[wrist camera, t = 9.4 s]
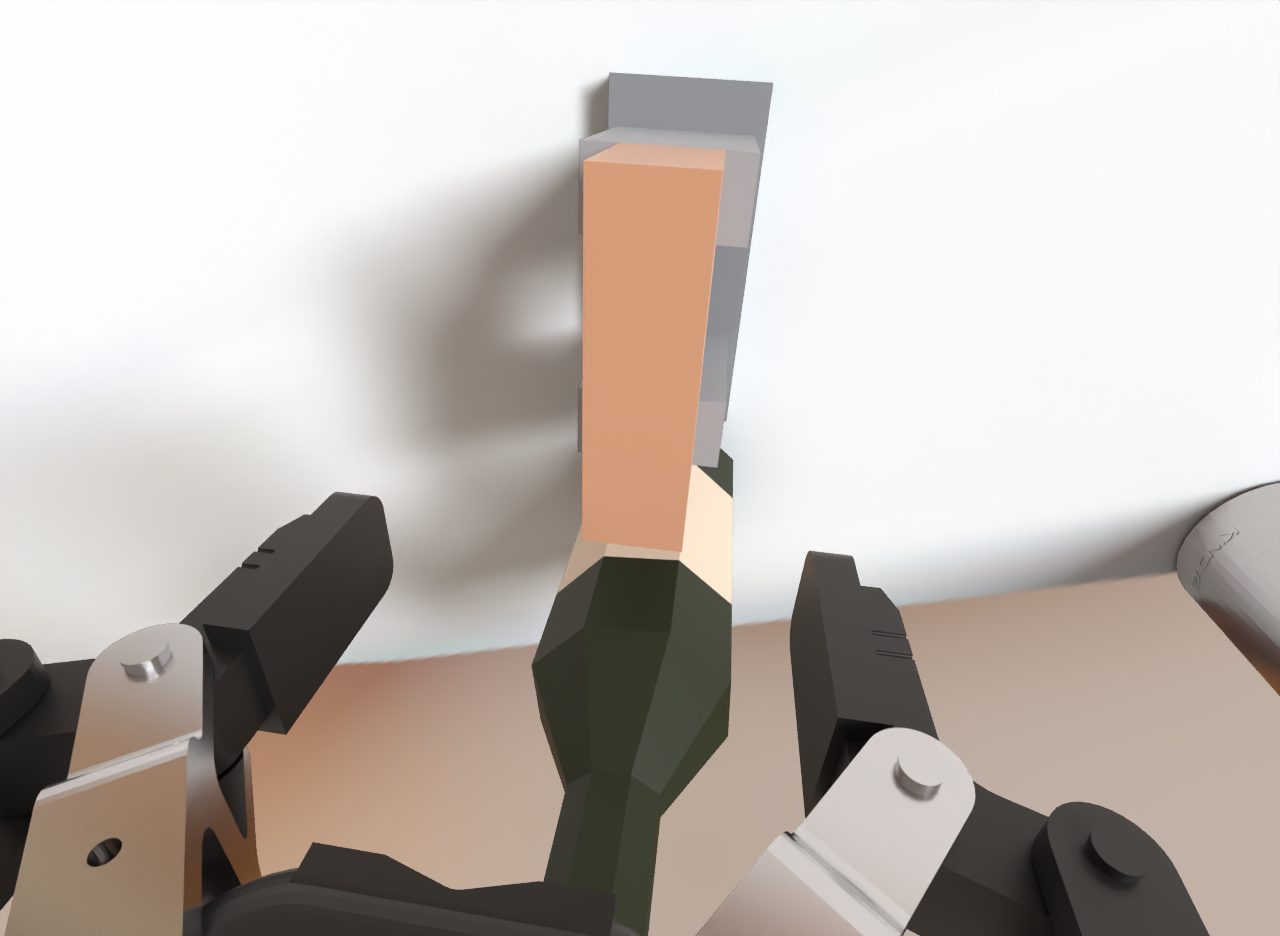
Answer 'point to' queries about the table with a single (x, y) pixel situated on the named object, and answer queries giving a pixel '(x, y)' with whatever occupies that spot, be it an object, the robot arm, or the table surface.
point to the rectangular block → (644, 335)
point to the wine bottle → (636, 692)
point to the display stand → (738, 127)
